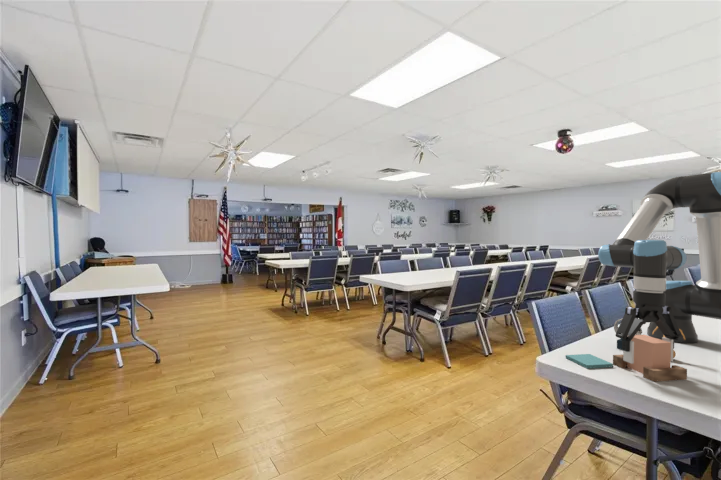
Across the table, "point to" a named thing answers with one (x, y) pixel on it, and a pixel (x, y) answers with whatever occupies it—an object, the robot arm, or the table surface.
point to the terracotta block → (650, 353)
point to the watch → (619, 341)
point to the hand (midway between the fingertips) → (648, 360)
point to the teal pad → (589, 361)
